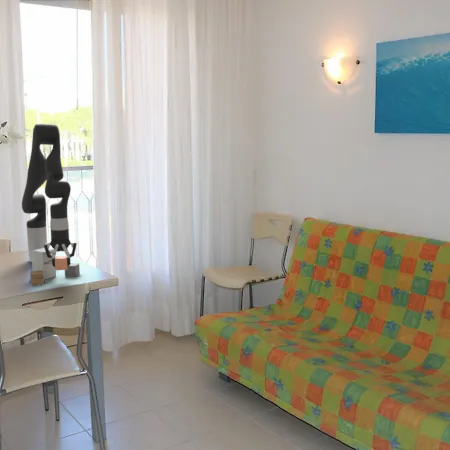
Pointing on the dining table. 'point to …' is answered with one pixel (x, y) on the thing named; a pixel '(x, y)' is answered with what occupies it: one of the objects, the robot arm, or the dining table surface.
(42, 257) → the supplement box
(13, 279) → the dining table surface
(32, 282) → the walnut cube
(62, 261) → the terracotta cube
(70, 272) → the charcoal cube
